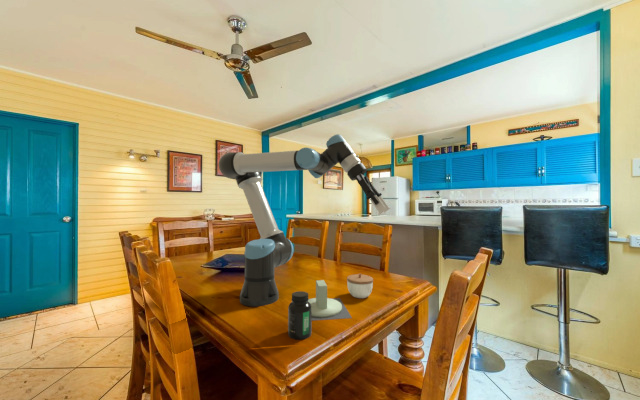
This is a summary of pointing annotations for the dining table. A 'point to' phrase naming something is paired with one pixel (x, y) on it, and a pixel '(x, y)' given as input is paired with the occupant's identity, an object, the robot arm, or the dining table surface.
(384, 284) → the dining table surface
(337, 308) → the lid
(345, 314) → the mat
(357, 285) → the lidded jar
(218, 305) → the dining table surface
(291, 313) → the supplement bottle
